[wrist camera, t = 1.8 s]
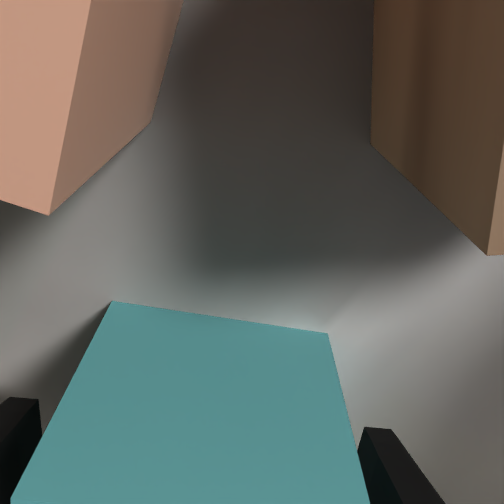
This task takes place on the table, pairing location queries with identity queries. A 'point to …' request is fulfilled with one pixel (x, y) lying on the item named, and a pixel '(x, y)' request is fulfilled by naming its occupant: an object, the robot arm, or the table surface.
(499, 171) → the walnut cube
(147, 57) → the terracotta cube
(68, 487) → the teal cube
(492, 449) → the table surface
